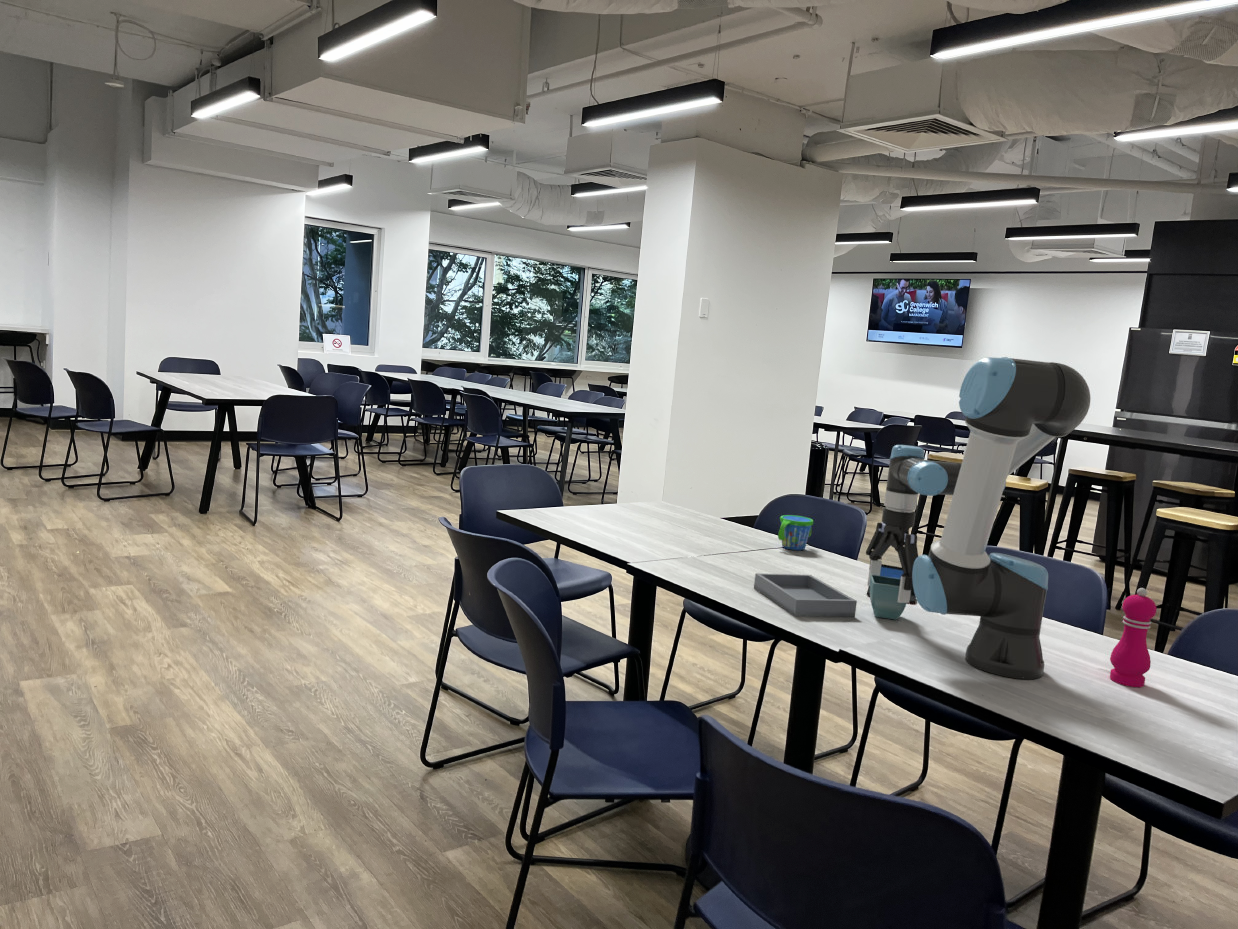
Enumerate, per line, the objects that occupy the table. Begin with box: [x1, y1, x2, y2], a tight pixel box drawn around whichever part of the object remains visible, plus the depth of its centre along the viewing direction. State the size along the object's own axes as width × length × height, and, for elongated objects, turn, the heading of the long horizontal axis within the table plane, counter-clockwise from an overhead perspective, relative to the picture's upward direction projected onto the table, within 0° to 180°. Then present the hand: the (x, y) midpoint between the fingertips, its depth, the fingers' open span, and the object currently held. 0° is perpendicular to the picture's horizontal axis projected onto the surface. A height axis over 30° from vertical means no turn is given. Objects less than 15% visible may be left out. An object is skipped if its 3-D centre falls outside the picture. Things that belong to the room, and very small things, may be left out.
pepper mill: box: [1109, 587, 1157, 688], centre depth 179 cm, size 7×7×20 cm
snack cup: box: [777, 514, 814, 551], centre depth 285 cm, size 16×10×10 cm
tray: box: [753, 572, 858, 618], centre depth 219 cm, size 24×16×4 cm, turn 15°
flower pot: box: [869, 575, 908, 621], centre depth 212 cm, size 9×9×9 cm
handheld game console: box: [866, 563, 917, 605], centre depth 234 cm, size 12×11×7 cm
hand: (887, 594), depth 213 cm, fingers open, 13 cm apart
